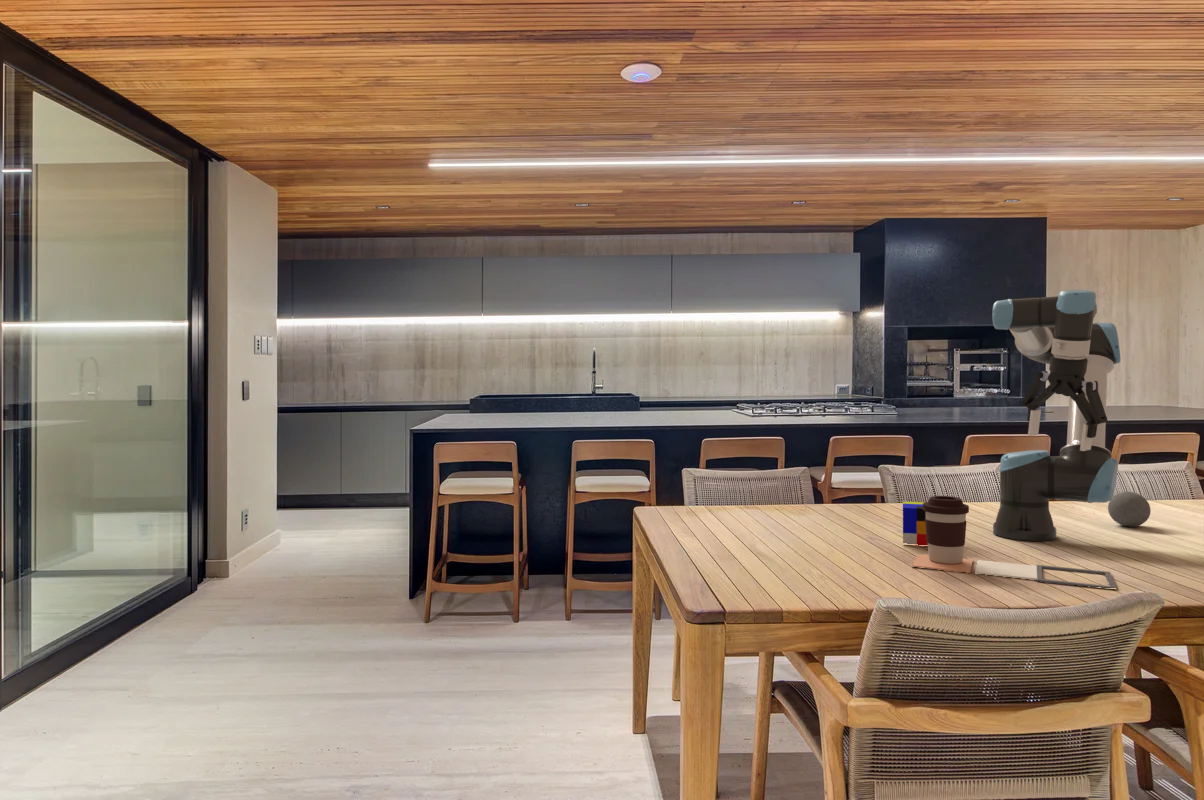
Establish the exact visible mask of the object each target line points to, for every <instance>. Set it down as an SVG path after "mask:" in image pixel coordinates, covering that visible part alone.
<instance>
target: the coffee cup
mask: <svg viewBox="0 0 1204 800" xmlns="http://www.w3.org/2000/svg"><path fill="white" fill-rule="evenodd" d="M923 510H924V511H925V512H926V518H925V526H926V539H927V543H928V547H927V550H928V555H929V559H930V560H931V561H933V562H937V563H942V564H958V563H961V562H962V560H963V559H964V548H965V547H964V546H965V545H966V535H967V534H966V533H967V520H966V517H967V514H969V512H970V506H969V504H966V503H964V502H963V500H962V498H961V497H957V496H949V495H933V496H930V497H929V498H928V501H926V502H924V503H923Z"/></svg>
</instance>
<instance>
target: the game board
mask: <svg viewBox="0 0 1204 800" xmlns="http://www.w3.org/2000/svg"><path fill="white" fill-rule="evenodd" d="M972 563H973V564H974V559H971V558H970V559H968V558H963V560H962V562H961V563H958V564H942V563H937V562H933V561H931V560H930V559H929V554H918V555H917V557H915V560H914V562H913V563H912V566H915V567H924V568H930V569H939V570H938V571H940V570H946V571H945V572H949V571H956V572H955V573H959V572H966V573H965V574H968V573H970V574H971V572H972V568H971V567H973V564H972ZM930 569H929V570H930ZM1053 569H1054V570H1055V571H1063V570H1064V571H1065V572H1073V571H1077V573H1083V572H1088V573H1087V574H1093V573H1101V574H1100V575H1104V574H1105V575H1106V576H1105V575H1104V576H1105V579H1106V578H1107V579H1106V581H1107V580H1108V581H1107V583H1108V582H1109V584H1108V585H1102V584H1094V583H1093V584H1092V583H1086V582H1085V583H1083V582H1076V581H1075V582H1073V581H1063V580H1054V579H1044V577H1043V570H1053ZM1054 570H1053V571H1054ZM970 571H971V572H970ZM977 574H985V575H984V576H987V575H994V576H993V577H996V576H1003V577H1002V578H1006V577H1012V578H1011V579H1015V578H1021V579H1020V580H1025V579H1029V580H1028V581H1034V580H1037V581H1039V582H1038V583H1042V582H1048V583H1047V584H1052V583H1057V584H1056V585H1061V584H1068V585H1067V586H1070V585H1079V586H1078V587H1080V586H1090V587H1101V588H1117V586H1116V582H1115V580H1114V578H1113V576H1112V573H1111V571H1106V570H1105V571H1104V570H1096V569H1087V568H1086V569H1085V568H1073V567H1062V566H1051V565H1044V564H1035V565H1032V564H1022V563H1011V562H1001V561H991V560H981V559H978V560H977V562H976V566H975V571H974V575H977ZM1037 581H1036V582H1037ZM1109 585H1110V586H1109ZM1117 589H1118V588H1117Z"/></svg>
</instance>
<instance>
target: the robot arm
mask: <svg viewBox="0 0 1204 800" xmlns="http://www.w3.org/2000/svg"><path fill="white" fill-rule="evenodd" d="M1096 300H1097V295H1096V292H1095V291H1092V290H1087V289H1086V290H1085V289H1065V290H1061V291H1060V292H1059V293H1058V295H1056V296H1043V297H1041V296H1040V297H1027V298H1026V297H1025V298H1008V299H1003V300H996V301H995V302H994V303H993V306H992V311H991V312H992V326H993V327H994V329H995V330H1006V331H1007V330H1009V331H1010V333H1011V335H1012V336H1013V337H1014V345H1015V347H1016V349H1017V350H1018V352H1019V353H1020V354H1021V355H1023V356H1025V357H1026V358H1028V359H1030V360H1033V361H1035V362H1038V363H1040V364H1046V365H1049V366H1048V369H1049V372H1048V371H1047V370H1043V371H1037V372H1036V376H1035V379H1034V382H1032V384H1031V386H1030V388H1029V389H1028V391H1027V392H1026V394H1025V396H1024V397H1023V399H1022V400H1021V402H1020V404H1021V405H1022V406H1025V407H1026V408H1027V410H1028V411H1027V419H1026V420H1027V422H1028V431H1027V436H1029V437H1032V436H1038V435H1039V430H1040V423H1041V413H1042V409H1040V406H1042V405H1043V404H1044V403H1045V402H1046V401H1047V400H1049V399H1050V398H1051V397H1053V395H1062V396H1065V397H1068V398H1069V399H1068V412H1067V413H1068V415H1067V435H1066V445H1064V446H1063V447H1061V448H1060V451H1059V455H1056V456H1054V455H1053V456H1052V455H1051V454H1050V452H1049V450H1045V449H1043V450H1042V449H1040V450H1039V449H1037V450H1035V449H1033V450H1022V451H1020V450H1019V451H1012V452H1008V453H1005V454H1003V455H1002V456H1001V458H1000V464H999V465H1000V467H999V470H998V471H999V482H1000V483H999V509H998V511H997V514H996V518H995V522H993V524H992V525H993V526H992V534H994V535H995V536H997V535H998V537H1002V538H1004V539H1011V540H1019V541H1029V542H1032V541H1033V542H1046V541H1047V542H1048V541H1052V540H1056V539H1057V528H1056V527H1055V526H1054V521H1053V517H1052V515H1051V512H1050V500H1055V501H1056V500H1057V501H1068V502H1069V501H1070V502H1078V503H1079V502H1080V503H1081V502H1082V503H1089V504H1092V503H1099V504H1100V503H1101V504H1102V503H1103V504H1105V503H1109V501H1110V500H1111V499H1112V497H1113V496H1114V493H1115V489H1116V485H1117V477H1118V471H1119V461H1118V459H1117V458H1114V457H1112V455H1113V454H1112V452H1111V451H1110V450H1109V449H1108V448H1106V424H1107V422H1108V417H1107V394H1108V393H1107V391H1108V390H1107V387H1108V386H1107V385H1108V375H1109V373H1111V372H1112V371H1113V369H1114V368H1115V365H1117V364H1119V363H1121V350H1120V343H1119V335H1118V334H1119V333H1118V330H1117V326H1116V325H1115V324H1113V323H1112V322H1099V321H1097V322H1094V318H1095V317H1096V315H1097V310H1098V307H1097V306H1098V305H1097V301H1096ZM1047 381H1048V383H1049V384H1048V386H1047V387H1045V389H1044V390H1043V387H1044V386H1045V384H1047V383H1046V382H1047ZM1042 390H1043V391H1042ZM1041 391H1042V392H1041ZM1040 392H1041V393H1040ZM1039 393H1040V394H1039Z"/></svg>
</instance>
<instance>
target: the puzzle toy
mask: <svg viewBox="0 0 1204 800" xmlns="http://www.w3.org/2000/svg"><path fill="white" fill-rule="evenodd" d="M923 503H925V502H923V501H921V502H920V501H919V502H918V501H902V544H903V543H907V544H918V545H928V543H927V539H926V526H925V518H926V512H925V511H924V510H923Z"/></svg>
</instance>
